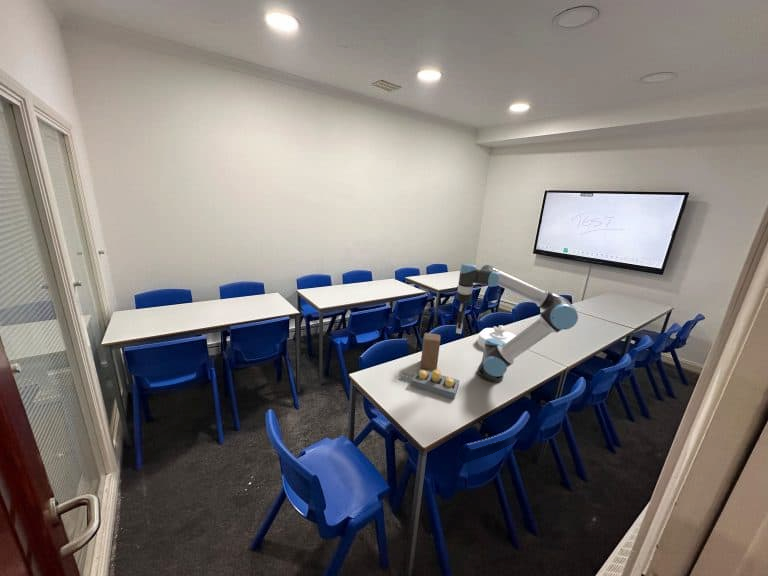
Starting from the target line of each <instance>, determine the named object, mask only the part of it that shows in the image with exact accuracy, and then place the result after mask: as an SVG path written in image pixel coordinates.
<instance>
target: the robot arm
mask: <svg viewBox="0 0 768 576" xmlns="http://www.w3.org/2000/svg"><path fill="white" fill-rule="evenodd" d="M474 284H478V285H481V286H482V285H483V286H488V287H497V286H499V287H501V288H503V289H506V290H507V291H509V292H512V293H513V294H516V295H519V296H520V297H522V298H524V299H526V300H528V301H529V302H533V303H535V304H536V306H537V307H538V308H540V309H542V310H543V312H541V313H540V314H539V318H538V319H537V320H536V321H534V322H533V323H532V324H530V325H529V326H527V327H526V328H525V329H523V330H522V331H521V332H519V333H518V334H516V336H515V337H514V338H513V339H511V340H510V341H509V342H507V343H505V342H504V341H502V340H499V339H494V338H489V339H486V342H485V347H484V348H483V353H482V360H481V361H480V364H479V365H478V367H477V370H476V374H477V375H478V377H479V378H480V379H482V380H485V381H487V382H491V383H499V382H502V381H503V380H504V377H505V376H504V374H506V372H507V370H508V367H511V366H512V365H513V364H514V360H515V359H516V358H518V356H520V355H522V354H523V353H525V352H526V351H527V350H529V349H531V348H532V347H534V345H536V344H537V343H540V342H541V341H542V340H543V339H545V338H546V337H547V336H549V335H550V334H551V333H552V334H553V333H559V332H561V331H563V330H569V329H571V328H573V327H575V325H576V324H577V322H578V321H579V314H578V312H577V309H576V307H574V306H573V304H572V303H571V302H570V300H568V298H565V297H563V296H561V295H559V294H556V293H553V291H552V292H551V291H549V290H542V289H540V288H539V287H536V286H533V285H531V284H529V283H527V282H525V281H523V280H520V279H519V278H516V277H514V276H512V275H509V274H507V273H506V272H503V271H502V270H499V269H497V268H495V267H494V266H492V265H491V264H485V265H483V266H481V268H480V269H478V268H477V267H476V265H475V264H472V263H463V264H461V266H460V270H459V277H458V285H457V286H456V288H457V293H456V299H457V300H458V301H459V302H458V305H457V306H458V308H457V318H456V321H455V322H456V331H455V334H460V335H461V334H462V331H463V324H464V322H465V320H464V319H465V313H466V310H467V305H468V302H471V300H472V293H473V288H474Z"/></svg>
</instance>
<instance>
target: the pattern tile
mask: <svg viewBox="0 0 768 576" xmlns="http://www.w3.org/2000/svg"><path fill="white" fill-rule="evenodd" d="M414 375H415V374H414ZM414 375H413V374H411V373H407V372H403V373H402V374H401V376H399V380H400V381H403V382H407V383H410V384H411V380H412V378H413V377H414Z"/></svg>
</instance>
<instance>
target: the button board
mask: <svg viewBox="0 0 768 576" xmlns="http://www.w3.org/2000/svg"><path fill="white" fill-rule="evenodd" d="M420 370H423V368H418V369H417V370H416V372H415V373H414V377H413V378H412V380H411V383H410V387H413V388H414V389H418V390H422V391H424V392H429V393H431V394H436V395H438V396H441V397H444V398H448V399H451V400H455V399H456V395H457V392H458V390H459V386H460V379H457V378H453V377H450V376H446V375H442V374H441V376H440V381H439V382H433V381H432V372H433V371H429V370H426V371H427V380H423V379H419V378H418V377H419V371H420ZM448 377H449V378H452V379H454V385H453V388H450V387H446V386H445V379H446V378H448Z"/></svg>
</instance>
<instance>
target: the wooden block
mask: <svg viewBox="0 0 768 576" xmlns="http://www.w3.org/2000/svg"><path fill="white" fill-rule="evenodd" d="M422 340H423V341H422V347H421V358H420V359H421V360H420V366H419V367H420V369H424V370H425V369H426V370H432V371H433V370H438V361H439V356H440V355H439V353H440V346H441V345H440V344H441V334H438V333H437V334H436V333H431V332H430V333H429V332H425V333H424V334H423V339H422Z"/></svg>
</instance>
